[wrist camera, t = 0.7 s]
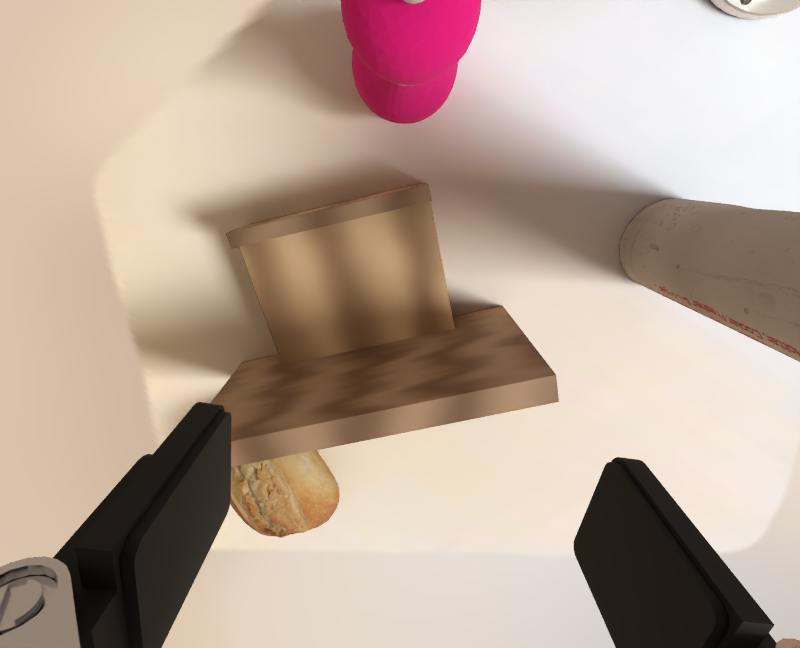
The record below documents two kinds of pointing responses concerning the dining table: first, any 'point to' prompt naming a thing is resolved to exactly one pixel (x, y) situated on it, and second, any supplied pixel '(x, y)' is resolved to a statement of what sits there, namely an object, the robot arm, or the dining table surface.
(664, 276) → the thermos bottle
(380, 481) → the dining table surface
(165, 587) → the robot arm
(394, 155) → the dining table surface
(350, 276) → the wall shelf
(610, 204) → the dining table surface
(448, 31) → the pepper mill
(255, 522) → the bread roll
